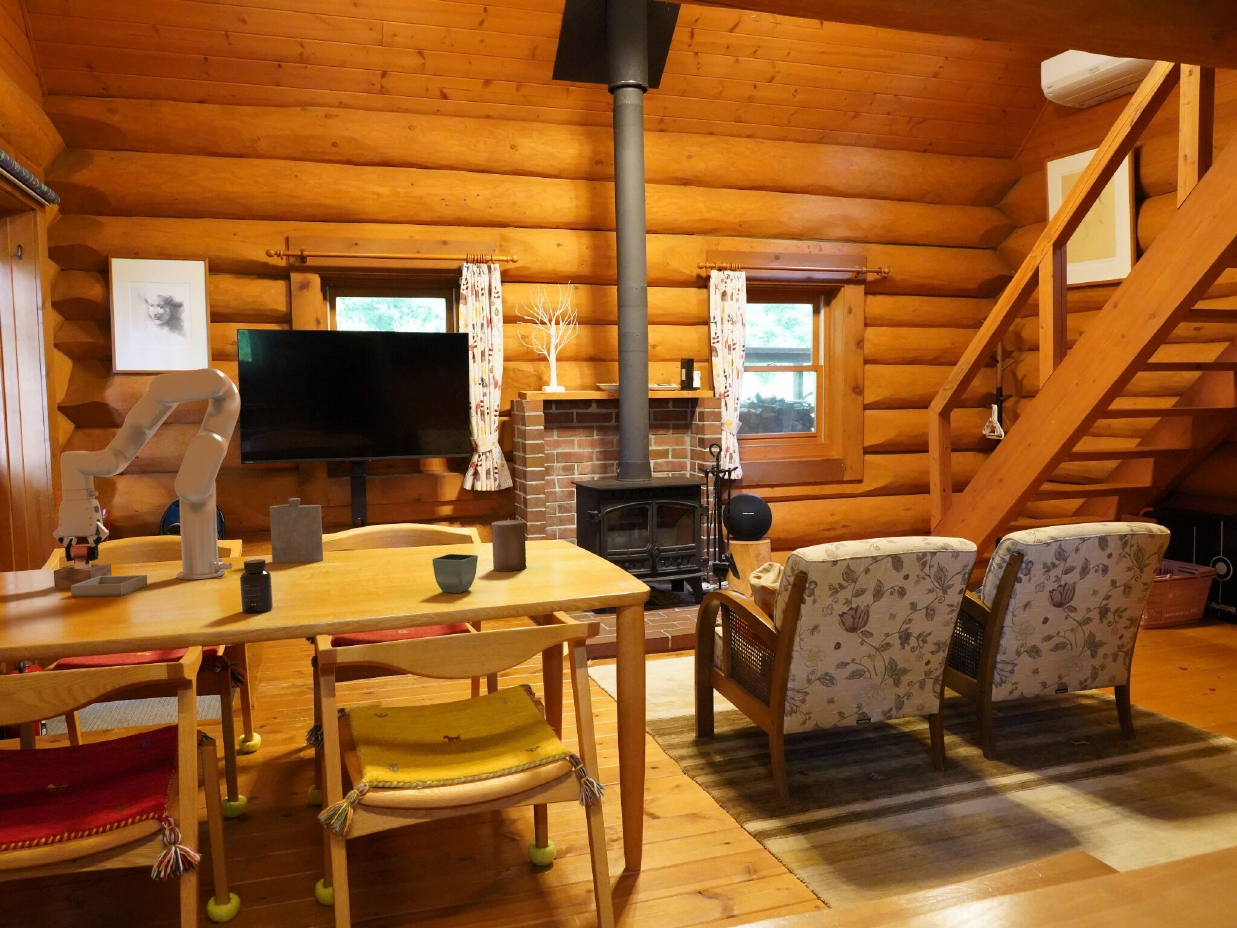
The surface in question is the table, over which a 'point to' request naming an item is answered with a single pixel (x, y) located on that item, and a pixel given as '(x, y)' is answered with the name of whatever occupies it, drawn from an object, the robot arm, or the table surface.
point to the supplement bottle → (256, 587)
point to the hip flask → (296, 533)
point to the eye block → (79, 575)
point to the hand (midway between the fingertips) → (82, 559)
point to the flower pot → (455, 572)
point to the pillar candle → (509, 545)
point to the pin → (80, 556)
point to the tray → (108, 586)
